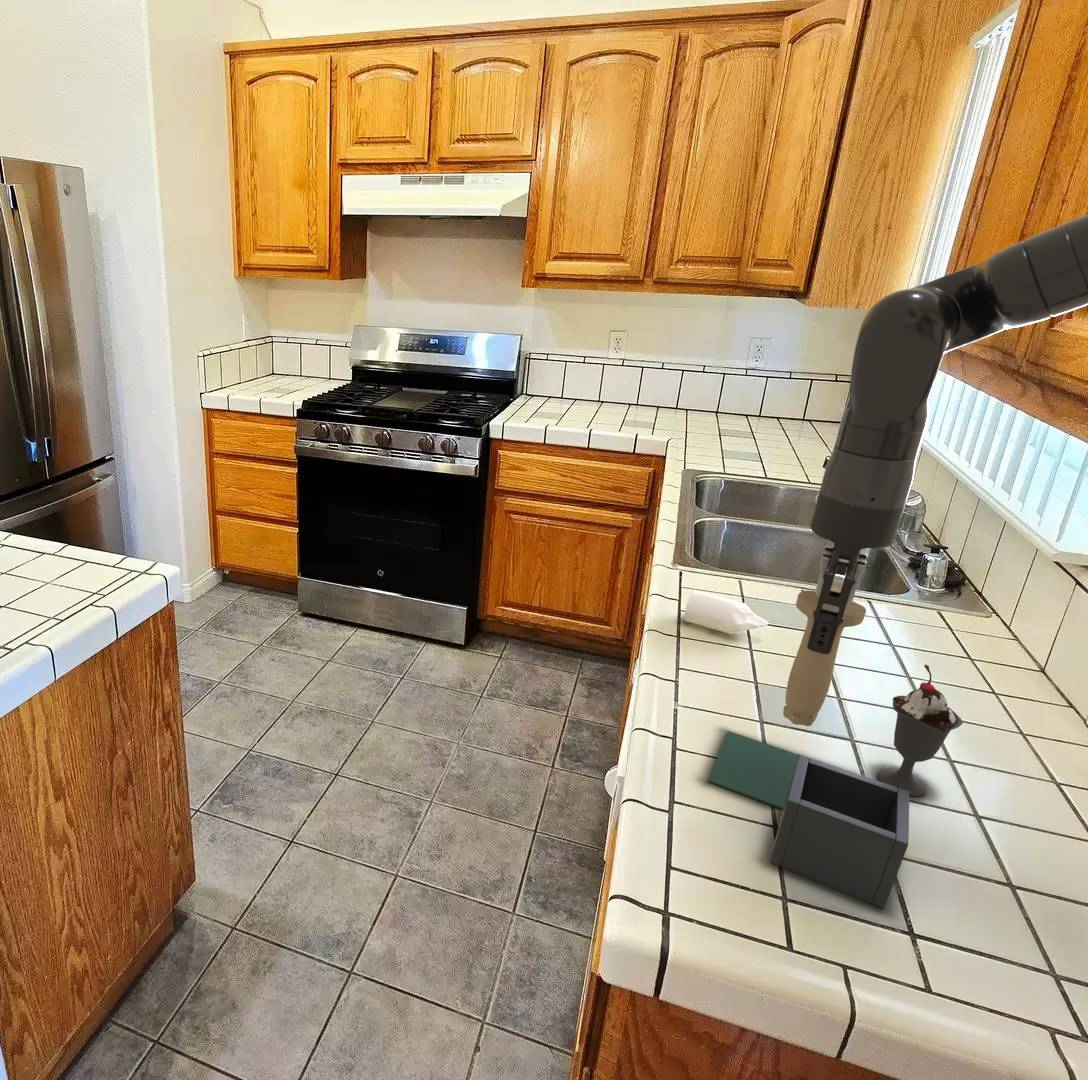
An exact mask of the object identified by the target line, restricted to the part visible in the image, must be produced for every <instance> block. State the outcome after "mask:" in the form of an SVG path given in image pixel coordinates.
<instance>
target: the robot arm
mask: <svg viewBox="0 0 1088 1080" xmlns="http://www.w3.org/2000/svg"><path fill="white" fill-rule="evenodd" d="M1086 306H1088V213H1087V214H1084V215H1081V216H1078V217H1076V218H1074V219H1071V220H1069V221H1067V222H1065V223H1061V224H1059V225H1057V226H1054V227H1052V228H1050V229H1047V230H1045V231H1042V232H1040V233H1037V234H1034V235H1032V236H1030V237H1028V238H1026V239H1024V240H1023V241H1022V240H1020V241H1018V242H1016V243H1013V244H1012V245H1010V246H1008V247H1005V248H1003V249H1001V250H1000V251H997V252H996V253H993V254H992V255H990V256H989V257H987V258H986V259H985V260H983V261H980V262H978V263H976V264H973V265H971V266H968V267H964V268H962V269H959V270H956V271H954V272H952V273H948V274H946V275H944V276H940V277H939V278H936V279H933V280H930V281H928V282H925V283H922V284H919V285H917V286H914V287H911V288H905V289H901V290H897V291H895V292H891V293H890V294H887V295H885V296H884V297H882V298H881V299H879V300H878V301H877V302H876V303H875V304H873V305H872V306H871V308H870V309H869V310H868V312H866V315H865V316H864V318H863V321H862V322H861V325H860V328H859V331H858V334H857V338H856V342H855V343H856V344H855V347H854V351H853V352H854V353H853V359H852V363H851V372H850V381H849V390H848V392H849V393H848V396H847V397H848V398H847V402H846V405H845V407H844V410H843V413H842V416H841V420H840V423H839V427H838V430H837V435H836V438H835V442H834V446H833V449H832V452H831V454H830V456H829V459H828V461H827V463H826V466H825V469H824V473H823V477H822V480H821V483H820V488H819V492H818V496H817V499H816V503H815V507H814V511H813V514H812V519H811V523H810V529H811V531H812V533H813V534H814V535H816V536H818V538H821V539H823V540H828V541H830V542H832V543H833V544H834V545H833V547H832V546H828V545H825V547H824V550H823V553H822V556H821V559H820V563H819V568H820V573H819V576H818V581H817V584H816V587H815V590H814V591H815V593H816V595H817V596H818V597H819V600H818V604H817V607H816V611H815V610H814V612H813V615H814V618H813V619H814V623H813V627H812V630H811V634H810V637H809V641H808V645H807V647H808V649H809V650H811V651H815V652H818V653H822V654H829V653H830V652H831V649H832V645H833V642H834V638H835V635H836V632H837V628H838V625H839V626H840V624H841V622H842V623H843V620H844V617H843V614H844V611H845V608H846V604H848V603H851V602H852V601H853V602H854V597H855V594H856V591H857V587H858V584H859V580H860V579H861V578H862V577H863V576H864V573H865V569H866V565H867V559H868V554H867V553H862V552H861V551H862V550H864V549H872V550H879V549H886V548H888V547H890V546H892V545H893V544H894V542H895V540H896V537H897V534H898V530H899V528H900V523H901V521H902V517H903V514H904V511H905V507H906V504H907V501H908V498H909V494H910V492H911V488H912V485H913V481H914V475H915V468H916V462H917V458H918V455H919V451H920V448H921V445H922V441H923V438H924V435H925V431H926V428H927V425H928V420H929V415H930V403H929V399H930V396H931V393H932V390H933V386H934V384H935V382H936V381H935V380H936V378H937V374H938V372H939V368H940V366H941V362H942V360H943V357H944V355H945V354H947V353H948V352H951V351H953V350H956V349H958V348H961V347H963V346H967V345H969V344H971V343H975V342H977V341H980V340H982V339H984V338H987V337H990V336H992V335H994V334H997V333H1000V332H1002V331H1004V330H1009V329H1012V328H1019V327H1024V326H1027V325H1032V324H1035V323H1038V322H1042V321H1045V320H1048V319H1051V318H1052V317H1057V316H1059V315H1062V314H1065V313H1069V312H1072V311H1074V310H1077V309H1080V308H1083V307H1086ZM823 604H829V605H833V606H837V607H839V610H838V613H837V612H834V611H830V610H826V609H822V605H823Z"/></svg>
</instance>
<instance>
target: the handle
mask: <svg viewBox="0 0 1088 1080" xmlns="http://www.w3.org/2000/svg"><path fill="white" fill-rule="evenodd" d="M815 591H816V590H802V591H800V592H799V593H798V594H797V597H796V598H797V599H796V603H795V607H796V608H797V610H798V611H800V612H801V613H802V614H803V615H805V617H806V618H807V621H806V626H805V630H804V631H803V636H802V638H801V642H800V644H799V647H798V649H797V652H796V655H795V658H794V660H793V663H792V666H791V669H790V672H789V676H788V680H787V683H786V684H787V685H786V689H785V705H784V706H783V709H782V710H783V713H782V714H783V717H784V718H786V719H787V720H789V721H790V722H791V724H793V725H796V726H806V727H812V725H813V724H814V722H815V721H816V719H817V717H818V715H819V712H820V710H821V709H822V707H823V705H824V703H825V700H826V698H827V695H828V692H829V690H830V686H831V682H832V679H833V673H834V669H835V664H836V659H837V655H838V650H839V646H840V643H841V642H840V641H841V637H842V634H843V631H844V629H845V628H850V627H856V626H858V625H861V624H862V623H863V622H864V619H865V616H866V613H867V608H866V607H865V606H863V605H862V604H860V603H858V602H855V601H854V600H853V601H852V602H851V603H848V604H846V608H845V611H844V614H843V617H844V620H843V623H842V622H841V624H840V626H839V625H838V628H837V632H836V635H835V638H834V642H833V645H832V649H831V652H830V653H829V654H822V653H818V652H815V651H811V650H809V649H808V647H807V645H808V641H809V637H810V634H811V630H812V627H813V623H814V619H813V618H814V615H813V612H814V610H815V611H816V607H817V604H818V600H819V597H818V596H817V595H816V593H815ZM822 609H826V610H830V611H834V612H837V613H838V610H839V607H837V606H833V605H829V604H823V605H822Z"/></svg>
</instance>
